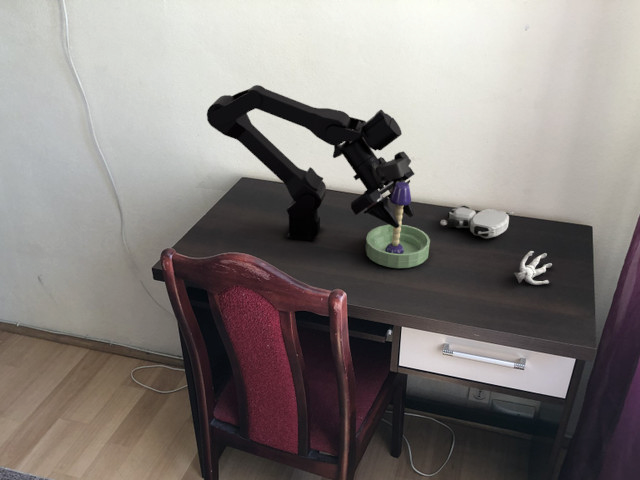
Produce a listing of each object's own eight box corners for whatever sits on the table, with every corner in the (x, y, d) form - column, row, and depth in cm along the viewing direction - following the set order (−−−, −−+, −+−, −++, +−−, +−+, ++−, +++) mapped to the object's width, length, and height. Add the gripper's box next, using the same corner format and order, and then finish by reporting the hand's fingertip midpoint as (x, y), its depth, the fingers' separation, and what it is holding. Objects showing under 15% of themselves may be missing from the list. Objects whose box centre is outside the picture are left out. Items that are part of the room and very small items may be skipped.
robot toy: (436, 234, 167) (495, 247, 160) (437, 217, 165) (497, 230, 158) (457, 215, 176) (514, 227, 169) (458, 198, 174) (516, 210, 166)
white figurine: (559, 277, 152) (545, 285, 142) (539, 286, 155) (524, 295, 145) (542, 245, 153) (527, 252, 143) (523, 255, 156) (506, 262, 146)
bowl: (360, 265, 153) (361, 250, 151) (371, 235, 165) (372, 221, 163) (424, 273, 151) (426, 258, 149) (431, 242, 162) (432, 228, 160)
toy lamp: (397, 244, 160) (403, 177, 151) (410, 253, 157) (417, 185, 148) (381, 250, 158) (385, 182, 149) (394, 258, 155) (399, 190, 145)
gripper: (365, 157, 139) (409, 221, 140) (410, 131, 152) (450, 189, 153) (332, 184, 147) (374, 244, 148) (377, 156, 160) (415, 212, 161)
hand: (405, 221), depth 152 cm, fingers open, 6 cm apart
